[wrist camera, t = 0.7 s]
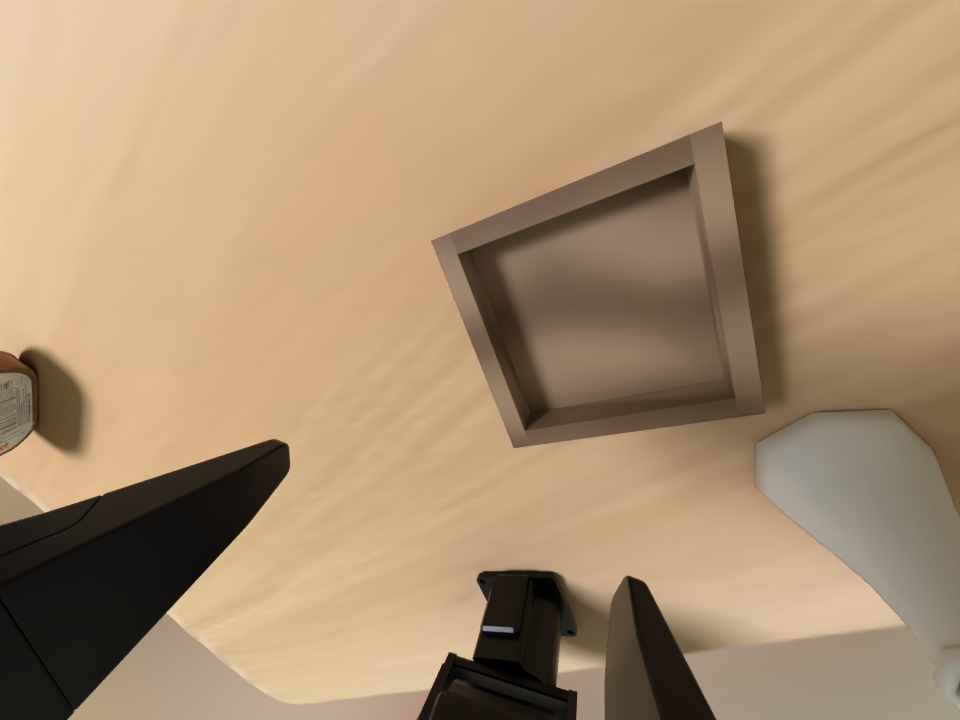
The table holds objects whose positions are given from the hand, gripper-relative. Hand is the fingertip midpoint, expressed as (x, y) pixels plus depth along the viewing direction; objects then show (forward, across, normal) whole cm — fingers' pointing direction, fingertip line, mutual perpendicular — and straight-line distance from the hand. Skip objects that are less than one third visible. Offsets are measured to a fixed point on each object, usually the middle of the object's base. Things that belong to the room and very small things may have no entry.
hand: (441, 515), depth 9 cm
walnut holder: (+13, -3, -2) cm, 14 cm away
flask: (+14, -17, +2) cm, 22 cm away
